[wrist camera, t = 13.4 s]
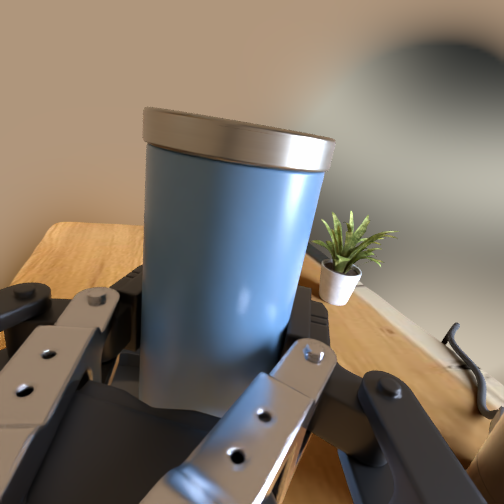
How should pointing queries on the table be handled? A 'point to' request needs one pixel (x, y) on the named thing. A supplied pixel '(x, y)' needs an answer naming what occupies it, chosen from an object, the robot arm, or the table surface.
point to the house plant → (344, 260)
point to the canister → (221, 252)
